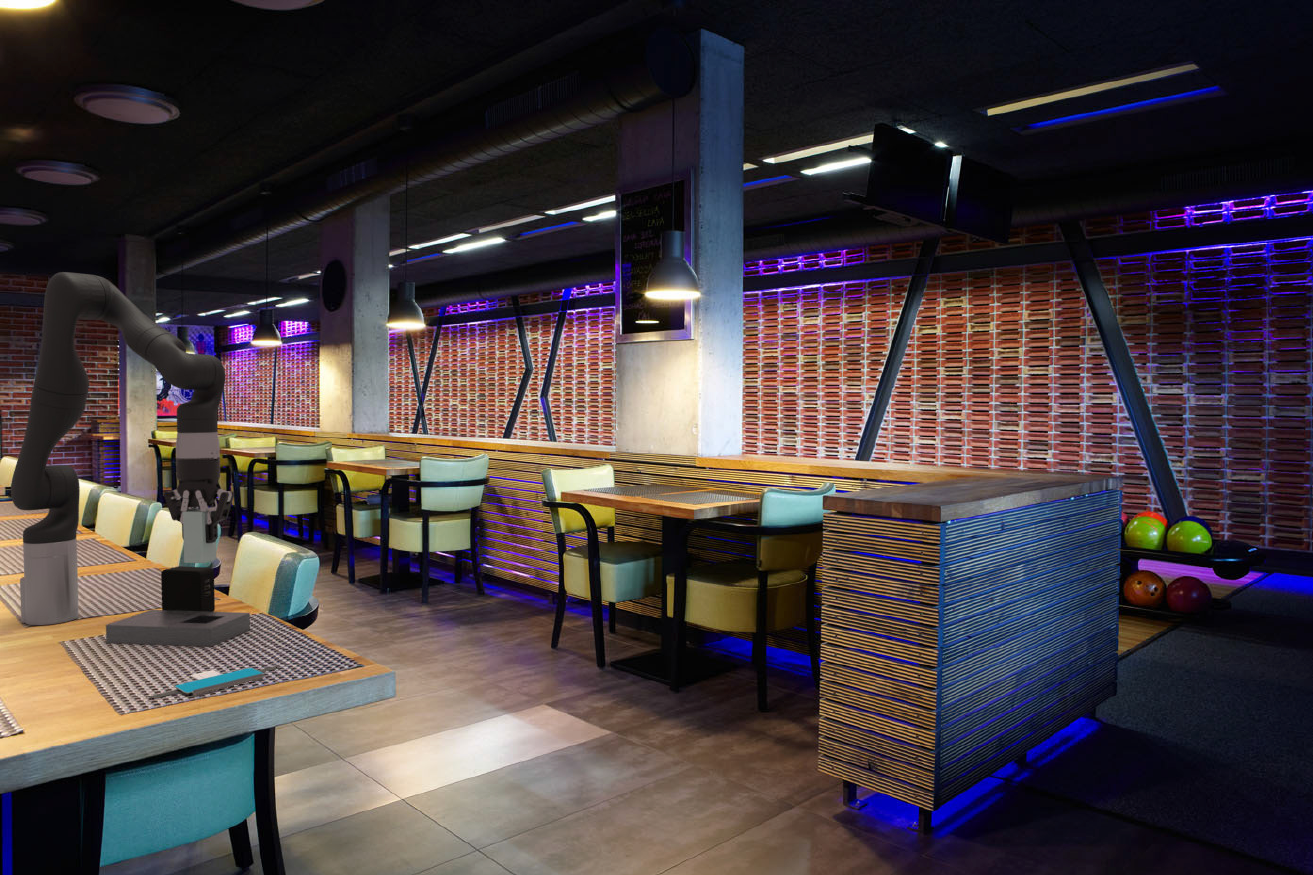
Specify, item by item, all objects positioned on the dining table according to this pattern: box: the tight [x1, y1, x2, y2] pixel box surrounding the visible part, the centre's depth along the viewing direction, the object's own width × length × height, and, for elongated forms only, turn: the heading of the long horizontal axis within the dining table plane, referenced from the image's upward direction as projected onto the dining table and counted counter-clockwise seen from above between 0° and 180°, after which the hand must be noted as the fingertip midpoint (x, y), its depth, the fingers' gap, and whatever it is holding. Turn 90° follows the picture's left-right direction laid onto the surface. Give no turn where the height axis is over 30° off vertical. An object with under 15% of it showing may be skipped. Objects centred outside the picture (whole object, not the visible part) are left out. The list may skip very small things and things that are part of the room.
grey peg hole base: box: [105, 609, 251, 648], centre depth 164 cm, size 22×12×4 cm, turn 83°
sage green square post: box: [183, 508, 218, 564], centre depth 162 cm, size 4×4×10 cm
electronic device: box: [160, 565, 216, 612], centre depth 182 cm, size 4×10×10 cm, turn 79°
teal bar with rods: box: [149, 665, 279, 699], centre depth 137 cm, size 20×12×2 cm, turn 140°
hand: (200, 542), depth 162 cm, fingers closed on sage green square post, 4 cm apart
